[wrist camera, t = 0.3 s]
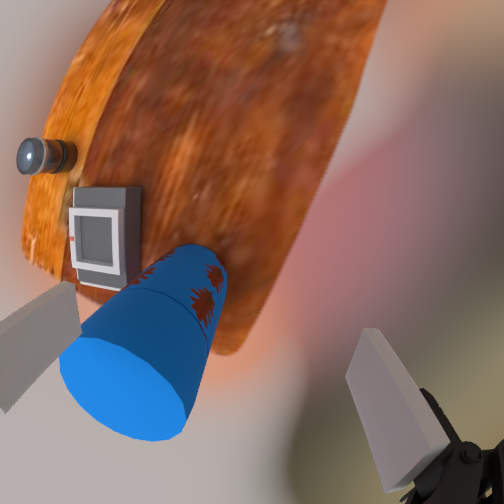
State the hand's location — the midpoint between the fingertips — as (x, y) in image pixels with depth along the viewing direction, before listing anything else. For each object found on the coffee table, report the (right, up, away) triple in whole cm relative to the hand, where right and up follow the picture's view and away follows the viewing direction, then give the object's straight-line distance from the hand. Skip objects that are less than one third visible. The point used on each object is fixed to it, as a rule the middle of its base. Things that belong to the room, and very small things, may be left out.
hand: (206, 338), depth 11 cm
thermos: (-7, 0, +29) cm, 30 cm away
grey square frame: (-19, +7, +27) cm, 34 cm away
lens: (-29, +19, +24) cm, 42 cm away
